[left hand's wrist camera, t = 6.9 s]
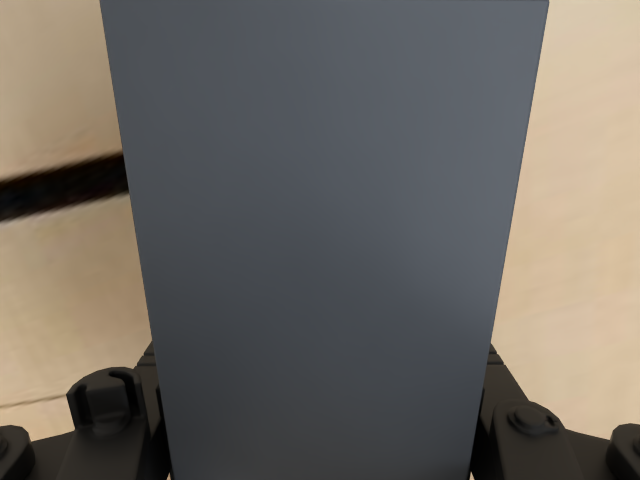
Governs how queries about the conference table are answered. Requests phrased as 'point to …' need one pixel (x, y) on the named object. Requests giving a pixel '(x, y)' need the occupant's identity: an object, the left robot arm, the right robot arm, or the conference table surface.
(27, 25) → the conference table surface
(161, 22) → the beam
